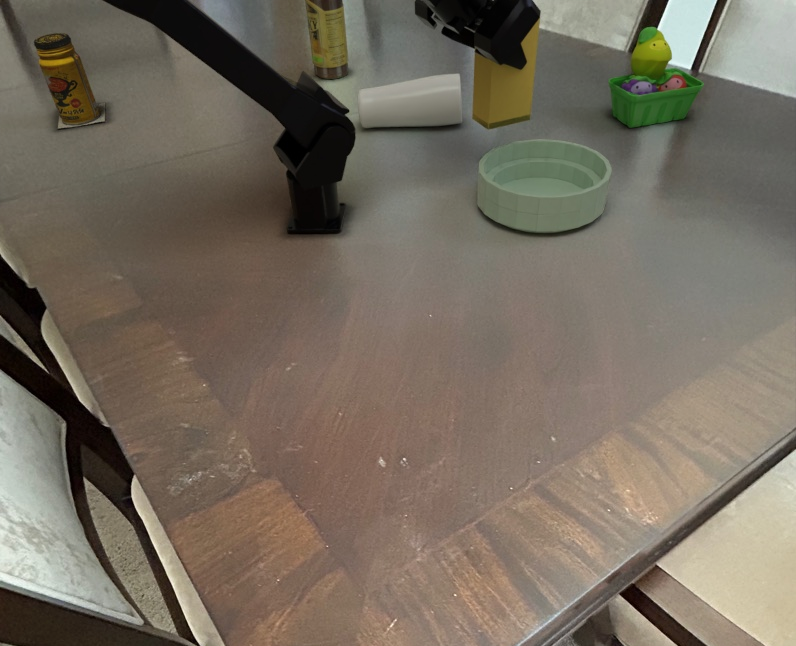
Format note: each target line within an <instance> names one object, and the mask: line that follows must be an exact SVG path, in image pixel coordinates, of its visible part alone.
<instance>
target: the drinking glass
mask: <svg viewBox="0 0 796 646" xmlns="http://www.w3.org/2000/svg"><path fill="white" fill-rule="evenodd" d="M461 84H462V83H461V74H460V72H459V73H445V74H444V73H443V74H435V75H428V76H424V77H418V78H413V79H409V80H403V81H398V82H394V83H389V84H384V85H378V86H373V87H365V88H361V89H359V90H358V92H357V112H358V119H359V122H360V125H361V127H362V128H363V129H371V128H373V129H374V128H399V127H401V128H404V127H405V128H407V127H408V128H409V127H414V128H415V127H418V128H419V127H442V126H443V127H444V126H450V125H457V124H462V123H463V104H462V103H463V102H462V87H461V86H462V85H461Z"/></svg>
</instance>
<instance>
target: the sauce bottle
mask: <svg viewBox="0 0 796 646" xmlns="http://www.w3.org/2000/svg"><path fill="white" fill-rule="evenodd" d="M304 2H305V3H304V4H305V10H306V18H307V19H306V20H307V27H308V36H309V42H310V43H309V44H310V52H311V60H312V65H313V71H314V74H315V75H316V76H317V77H319V78H321V79H328V80H336V79H339V78H344V77H345V76H347V75H348V73H349V63H348V62H349V52H348V51H349V50H348V40H347V30H346V18H345V8H344V6H345V5H344V2H343V0H304Z"/></svg>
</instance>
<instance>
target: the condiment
mask: <svg viewBox="0 0 796 646" xmlns="http://www.w3.org/2000/svg"><path fill="white" fill-rule="evenodd" d="M33 45H34V47H35V49H36V54H37V56H38V57H39V58H38V59H39V60H38V65H39V68H40V70H41V73H42V74H43V77H44V80H45V82H46V85H47V88H48V89H49V94H50V95H51V98H52V100H53V103H54V106H55V108H56V110H57V113H58V124H57V129H64V128H65V129H66V128H76V127H81V126H86V125H91V124H96V123H101V122H106V102H101V103H98V104H97V101H96V98H95V95H94V92H93V90H92V87H91V84H90V82H89V79H88V76H87V73H86V70H85V67H84V64H83V61H82V59H81V56H80V55H79V53H77V51H76V50H75V47H74V44H73V43H72V38H71V37H70V35H69V34H68V33H63V32H54V33H47V34H44V35H41V36H37V37H36V38H35V39H34V40H33Z"/></svg>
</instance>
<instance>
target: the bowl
mask: <svg viewBox="0 0 796 646" xmlns="http://www.w3.org/2000/svg"><path fill="white" fill-rule="evenodd" d="M477 167H478V168H477V190H476V198H477V200H476V201H477V206H478V208H479V209H480V210H481V211H482V213H483V214H484V215H485V216H486V217H487V218H489V219H491V220H493V222H496V223H498V224H500V225H502V226H504V227H507V228H509V229H513V230H515V231H519V232H525V233H533V234H554V233H555V234H556V233H562V232H567V231H570V230H575V229H578V228H581V227H583V226H586V225H588V224H591V223H592V222H594V221H595V220H596V219H597V218H599V217H600V216H601V215H602V214H603V213H604V210H605V207H606V205H607V202H608V201H607V200H608V196H609V190H610V184H611V180H612V175H613V168H612V165H611V162H610V161H609V159H608V158H606V157H605V155H603V154H602V153H601V152H600V151H598V150H595V149H593V148H591V147H589V146H587V145H584V144H580V143H575V142H573V141H568V140H560V139H559V140H558V139H551V138H550V139H549V138H540V139H539V138H536V139H535V138H533V139H532V138H531V139H524V140H517V141H511V142H507V143H505V144H501V145H499V146H496V147H494V148H492V149H491V150H489V151H488V152H486V153H485V154H483V156H482V157H481V159H480V160H479V162H478V166H477Z"/></svg>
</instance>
